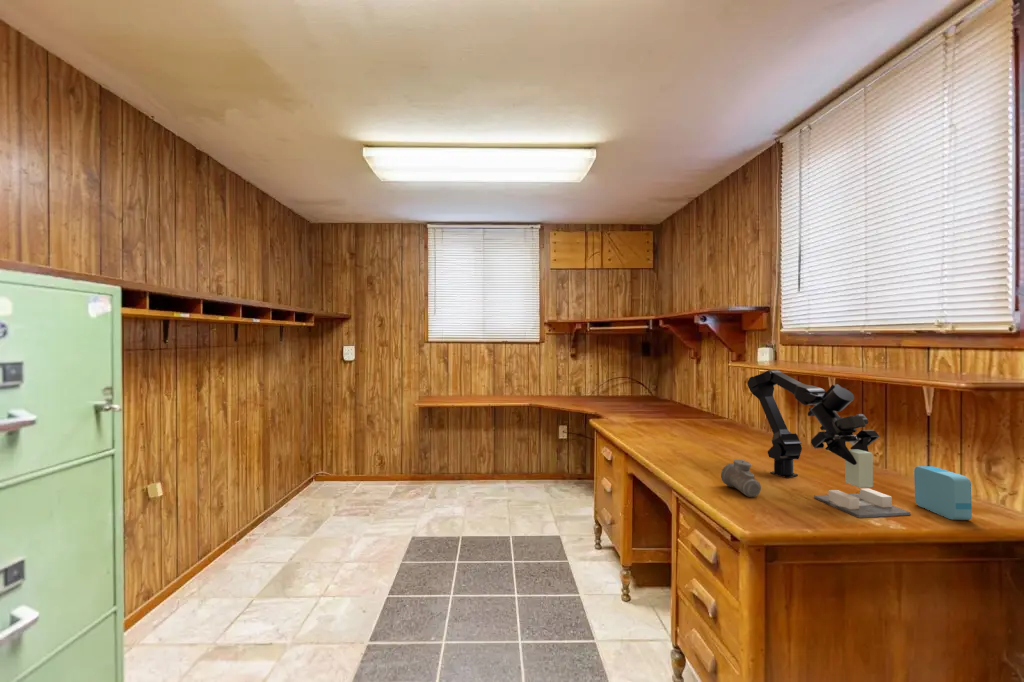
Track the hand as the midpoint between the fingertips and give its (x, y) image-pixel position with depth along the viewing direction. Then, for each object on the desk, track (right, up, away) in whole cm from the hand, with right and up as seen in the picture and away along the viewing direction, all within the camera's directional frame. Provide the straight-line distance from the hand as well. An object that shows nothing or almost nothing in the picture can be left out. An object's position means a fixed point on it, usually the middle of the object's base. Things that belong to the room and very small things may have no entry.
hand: (862, 463), depth 121 cm
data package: (+19, -13, -4) cm, 23 cm away
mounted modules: (0, -13, +1) cm, 13 cm away
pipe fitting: (-28, -14, +14) cm, 34 cm away
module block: (0, -7, +1) cm, 7 cm away
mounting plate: (0, -13, +1) cm, 13 cm away
